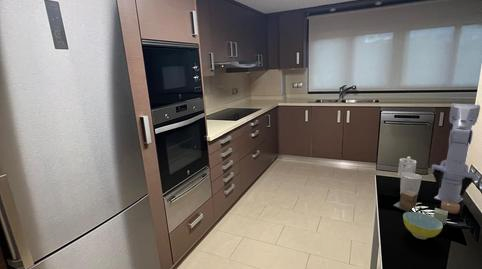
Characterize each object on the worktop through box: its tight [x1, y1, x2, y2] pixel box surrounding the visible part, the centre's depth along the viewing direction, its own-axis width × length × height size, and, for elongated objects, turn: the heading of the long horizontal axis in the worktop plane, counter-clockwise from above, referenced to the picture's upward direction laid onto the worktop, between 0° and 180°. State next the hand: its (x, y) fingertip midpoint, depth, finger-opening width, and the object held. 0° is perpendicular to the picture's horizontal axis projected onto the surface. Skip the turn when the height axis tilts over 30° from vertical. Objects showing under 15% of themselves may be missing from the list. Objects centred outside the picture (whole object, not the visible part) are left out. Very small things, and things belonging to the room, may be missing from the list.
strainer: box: [397, 156, 417, 178], centre depth 130 cm, size 7×7×15 cm
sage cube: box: [432, 207, 449, 225], centre depth 101 cm, size 4×4×4 cm
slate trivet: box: [393, 201, 410, 212], centre depth 111 cm, size 8×8×1 cm
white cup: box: [399, 172, 423, 195], centre depth 121 cm, size 8×8×10 cm
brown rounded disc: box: [440, 200, 461, 215], centre depth 109 cm, size 6×6×3 cm
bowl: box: [402, 211, 444, 240], centre depth 91 cm, size 11×12×6 cm
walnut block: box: [399, 190, 419, 209], centre depth 110 cm, size 4×4×6 cm
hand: (449, 191), depth 105 cm, fingers open, 7 cm apart
